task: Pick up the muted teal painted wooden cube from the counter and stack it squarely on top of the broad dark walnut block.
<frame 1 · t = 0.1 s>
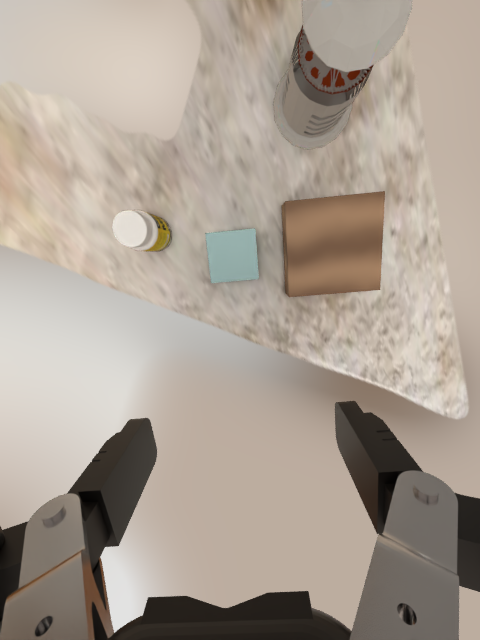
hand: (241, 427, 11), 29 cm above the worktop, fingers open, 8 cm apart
teal cube: (235, 255, 38), on the worktop
french press: (317, 100, 32), on the worktop
walnut block: (325, 247, 37), on the worktop
supplement bottle: (156, 234, 37), on the worktop
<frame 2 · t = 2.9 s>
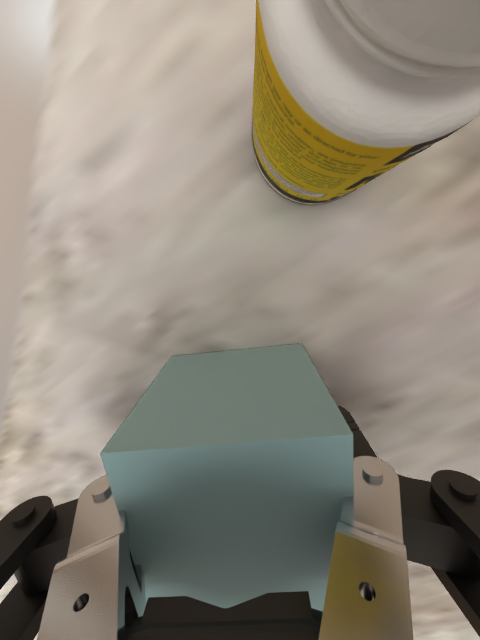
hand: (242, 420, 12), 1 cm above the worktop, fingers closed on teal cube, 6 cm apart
teal cube: (243, 407, 13), on the worktop, touching gripper
supplement bottle: (314, 138, 10), on the worktop
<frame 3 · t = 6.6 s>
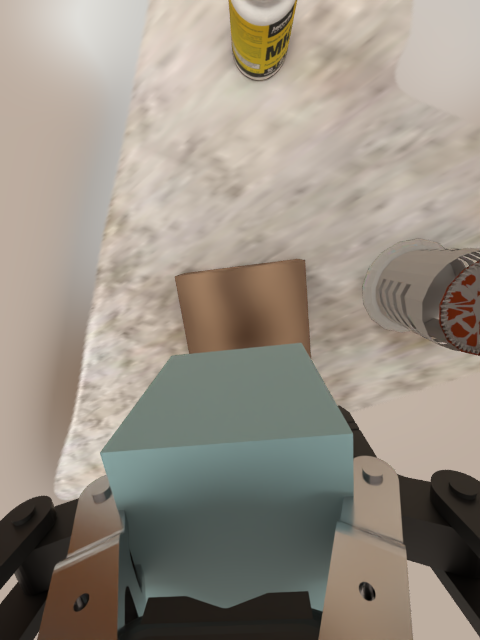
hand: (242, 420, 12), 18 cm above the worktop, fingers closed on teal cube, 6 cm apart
teal cube: (243, 406, 13), point 17 cm above the worktop, touching gripper
french press: (413, 293, 27), on the worktop
walnut block: (246, 320, 29), on the worktop
supplement bottle: (259, 50, 23), on the worktop
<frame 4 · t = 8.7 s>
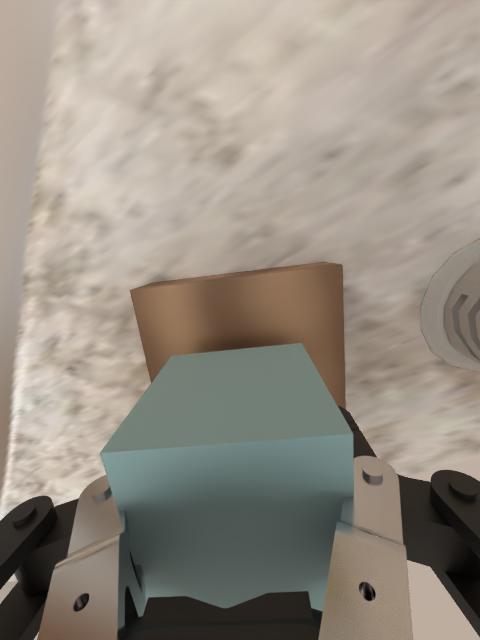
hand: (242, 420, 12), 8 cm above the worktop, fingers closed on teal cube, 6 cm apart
teal cube: (243, 406, 13), point 7 cm above the worktop, touching gripper
walnut block: (246, 350, 20), on the worktop
when the fingers open (5 cm above the worktop, at t = 10.4 s): teal cube stays where it is, resting on walnut block.
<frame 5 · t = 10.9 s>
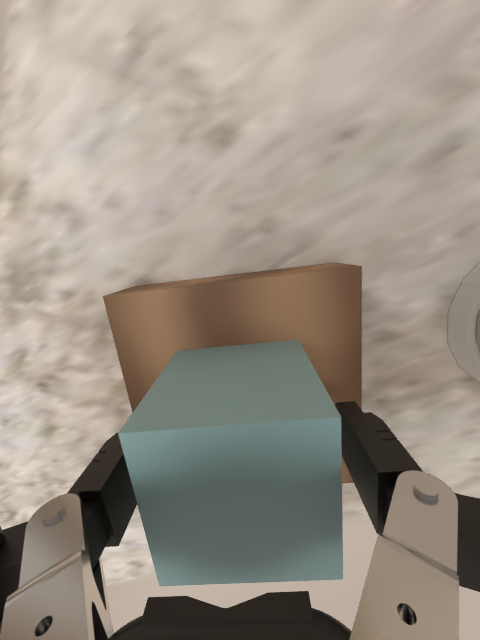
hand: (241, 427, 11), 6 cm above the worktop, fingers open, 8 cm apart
teal cube: (243, 399, 13), point 3 cm above the worktop, touching walnut block
walnut block: (244, 364, 17), on the worktop, touching teal cube
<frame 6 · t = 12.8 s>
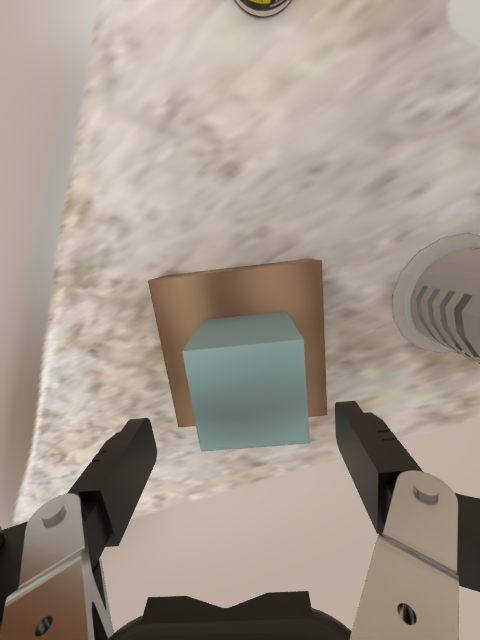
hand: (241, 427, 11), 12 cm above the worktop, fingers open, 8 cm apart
teal cube: (248, 354, 19), point 4 cm above the worktop
french press: (457, 303, 22), on the worktop
walnut block: (243, 335, 23), on the worktop
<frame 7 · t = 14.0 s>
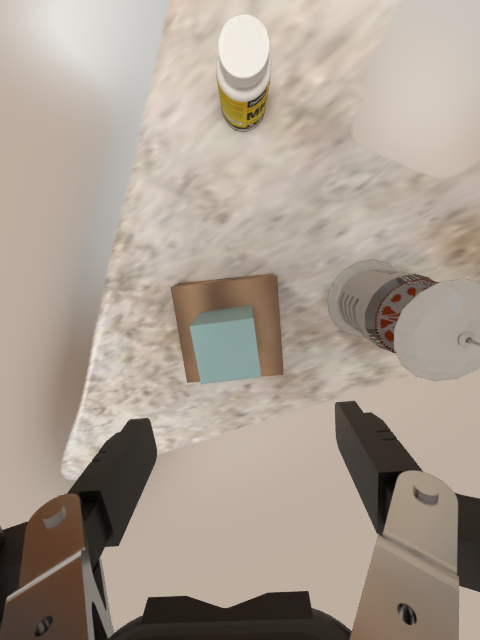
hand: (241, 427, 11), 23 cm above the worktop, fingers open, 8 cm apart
teal cube: (229, 333, 31), point 4 cm above the worktop
french press: (370, 304, 33), on the worktop
walnut block: (231, 323, 34), on the worktop
supplement bottle: (243, 107, 28), on the worktop
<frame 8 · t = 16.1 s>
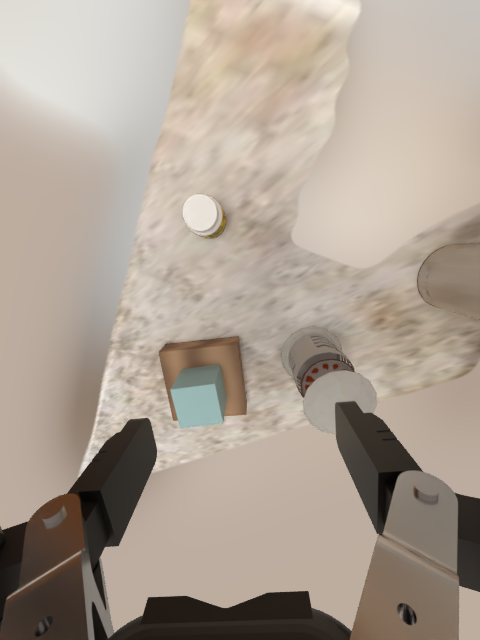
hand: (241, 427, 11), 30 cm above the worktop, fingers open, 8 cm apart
teal cube: (204, 384, 40), point 3 cm above the worktop, touching walnut block
french press: (314, 358, 43), on the worktop
walnut block: (207, 372, 44), on the worktop, touching teal cube
supplement bottle: (210, 221, 38), on the worktop
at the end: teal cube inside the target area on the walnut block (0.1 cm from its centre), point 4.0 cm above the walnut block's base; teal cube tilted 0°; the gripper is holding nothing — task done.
